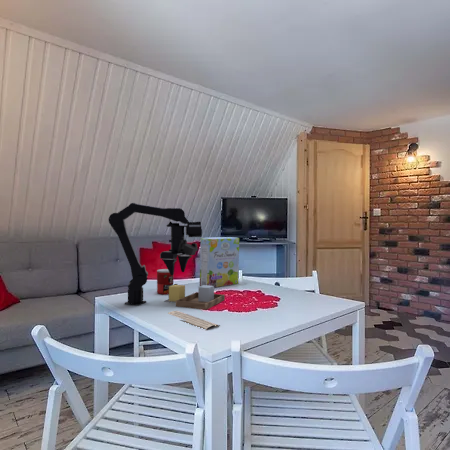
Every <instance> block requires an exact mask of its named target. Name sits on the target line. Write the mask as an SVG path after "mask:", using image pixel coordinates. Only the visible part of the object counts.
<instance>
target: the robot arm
mask: <svg viewBox="0 0 450 450" xmlns="http://www.w3.org/2000/svg"><path fill="white" fill-rule="evenodd" d="M135 213H137V214H145V215H150V216H155V217H162V218H165V219H167V220H169V221H168V223H167V224H166V228H170V239H168V242H169V243H170V249H168V250H166V251H165V250H164V251H161V252H160V253H159V259H161V261H163V263H164V265H165V266H166V269H168V270H169V273H170V275H173V276H174V274H175V273H174V272H175V263H176V262H177V260H178V263H179V267H180V270H181V272H182V273H185V271H186V268H187V267H186V266H187V264H188V261H189V260H190V259H191V258H193V256H195V255H196V253H197V251H199V249H198V248H199V247H198V244H197V243H195V242H192V243H188V241H187V239H185V235H186V236H187V237H188V238H202V236H203V229H202V221H189V220H188V218H187V217H186V213H185V211H184V210H183V208H179V207H167V208H166V207H157V206H151V205H147V204H140V203H135V202H132V203H130V204H129V205H127V206H126V207H124V208H122V209H121V210H120V211H118V212H112V213H111V214H110V215H109V217H108V223H109V225H110V226H111V227H112V230H113V231H114V233H115V234H116V235H117V237H118V240H119V241H120V244H121V247H122V249H123V251H124V254H125V257H126V258H127V261H128V264H129V266H130V270H131V271H130V272H131V278H132V279H131V280H130V281H129V282H128V285H127V288H128V289H127V301H126V302H124V304H125V305H133V306H139V305H143V304H144V303H147V301H146V300H144V286H145V285H146V284H147V282H148V276H149V272H148V271H147V270H146V269H147V268H146V265H145V264H141V263H140V262H139V260H138V257H137V255H136V252H135V250H134V246H133V243H132V242H131V240H130V237H129V234H128V231H127V226H126V221H125V220H127V219H128V218H129V217H130V216H132V215H133V214H135ZM172 221H174V222H172ZM179 222H180V223H181V224H184V225H180V223H179Z"/></svg>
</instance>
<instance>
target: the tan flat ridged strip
mask: <svg viewBox="0 0 450 450" xmlns="http://www.w3.org/2000/svg"><path fill="white" fill-rule="evenodd" d="M167 314H169V315H171V316H173V317H175V318H178V319H179V321H181V322H184V323H185V322H186V324H188V323H189V324H188V325H190V324H192V325H191V326H193V325H194V326H193V327H196V326H197V327H196V328H198V327H200V328H199V329H201V328H203V329H206V330H207V329H208V328H210V327H212V326H214V325H216V326H215V327H217V326H218V325H219V326H220V327H221V325H220V324H216V323H213V322H211V321H208V320H207V319H206V320H205V319H203V318H199V317H197V316H194V315H192V314H188V313H185V312H182V311H179V310H172V311H169V312H168V313H167ZM203 329H202V330H203Z"/></svg>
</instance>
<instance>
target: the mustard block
mask: <svg viewBox="0 0 450 450" xmlns="http://www.w3.org/2000/svg"><path fill="white" fill-rule="evenodd" d="M184 297H186V285H183V284H173V285H172V286H169V294H168V299H169V301H176V300H179V299H181V298H184Z"/></svg>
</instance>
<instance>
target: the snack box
mask: <svg viewBox="0 0 450 450" xmlns="http://www.w3.org/2000/svg"><path fill="white" fill-rule="evenodd" d="M199 252H200V254H199V257H200V259H199V262H200V263H199V287H200V286H203V285H209V286H214V288H217V287H220V288H221V287H225V286H232V285H238V284H239V268H240V267H239V265H240V262H239V261H240V258H239V257H240V255H239V254H240V237H234V236H232V237H231V236H229V237H228V236H227V237H225V236H221V237H217V236H216V237H215V236H214V237H213V236H212V237H200V251H199Z"/></svg>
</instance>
